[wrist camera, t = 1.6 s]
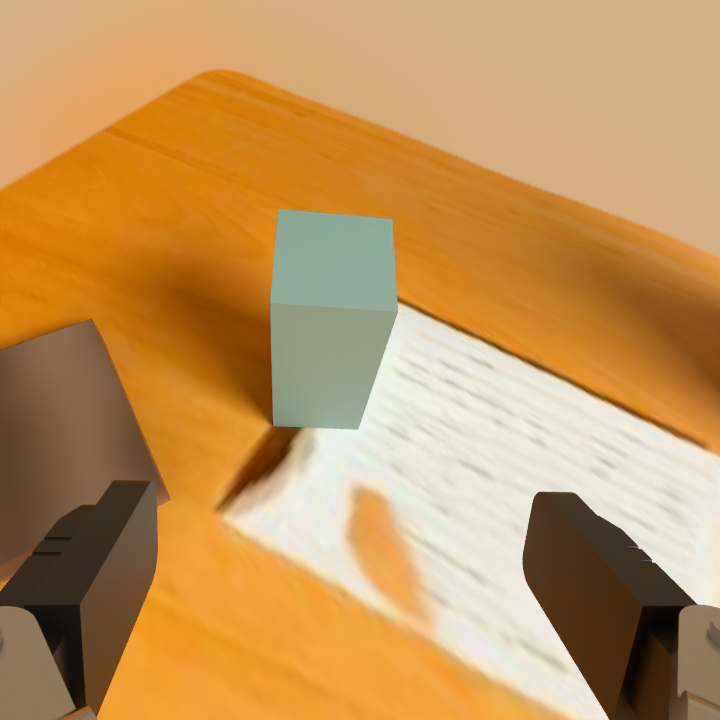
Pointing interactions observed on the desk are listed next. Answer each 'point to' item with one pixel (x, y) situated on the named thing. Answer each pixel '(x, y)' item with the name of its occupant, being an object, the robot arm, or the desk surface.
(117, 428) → the base
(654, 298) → the desk surface
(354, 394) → the pillar
